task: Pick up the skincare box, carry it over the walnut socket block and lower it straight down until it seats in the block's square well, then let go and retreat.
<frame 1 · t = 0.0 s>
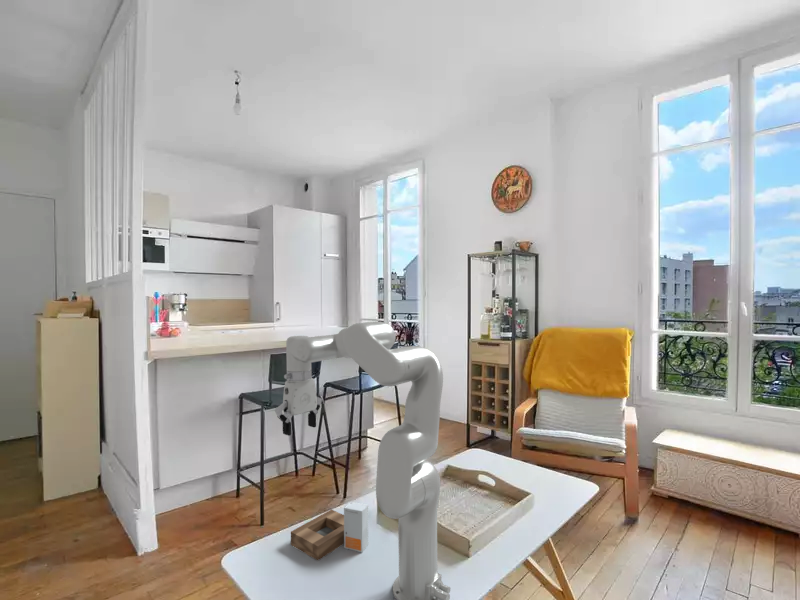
hand: (300, 430, 130), 31 cm above the table, fingers open, 9 cm apart
skincare box: (356, 547, 121), on the table
socket block: (325, 539, 125), on the table
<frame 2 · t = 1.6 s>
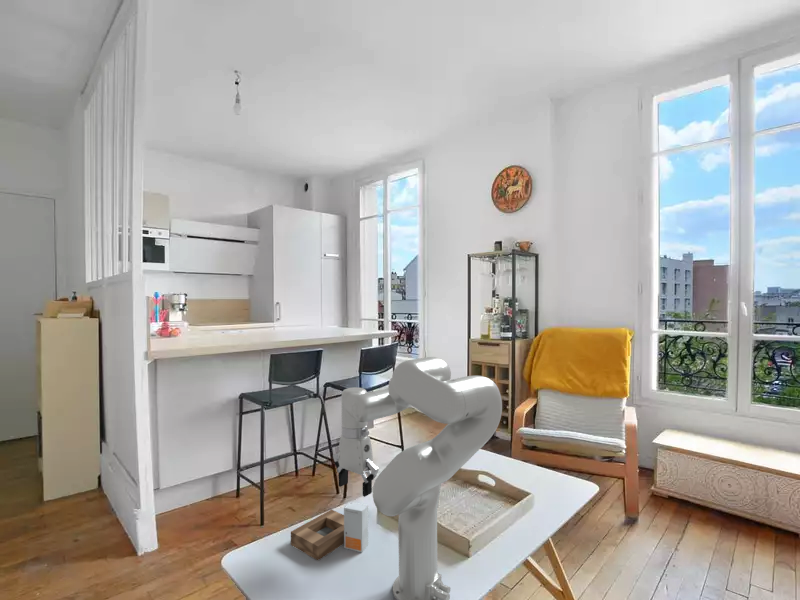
hand: (354, 489, 122), 17 cm above the table, fingers open, 9 cm apart
nothing on the table moved.
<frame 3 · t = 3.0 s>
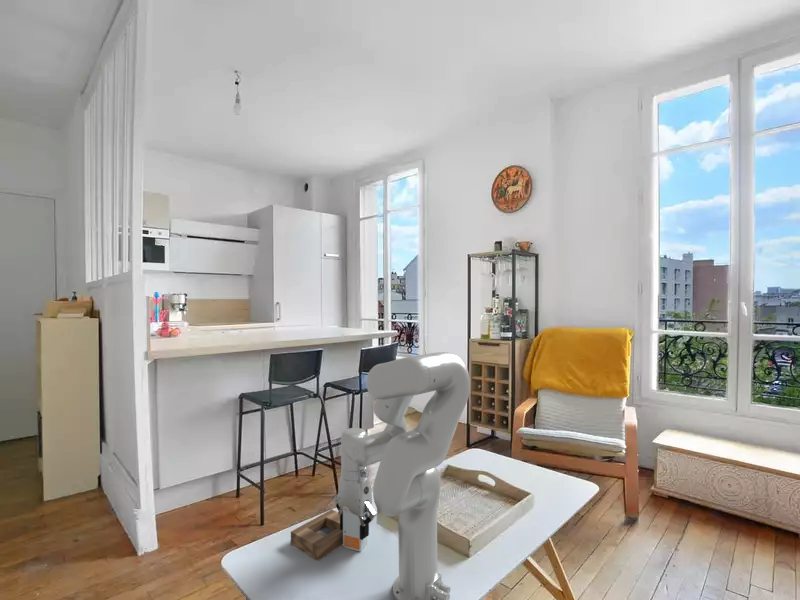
hand: (354, 531, 122), 4 cm above the table, fingers open, 7 cm apart
skincare box: (355, 546, 122), on the table, touching gripper, socket block
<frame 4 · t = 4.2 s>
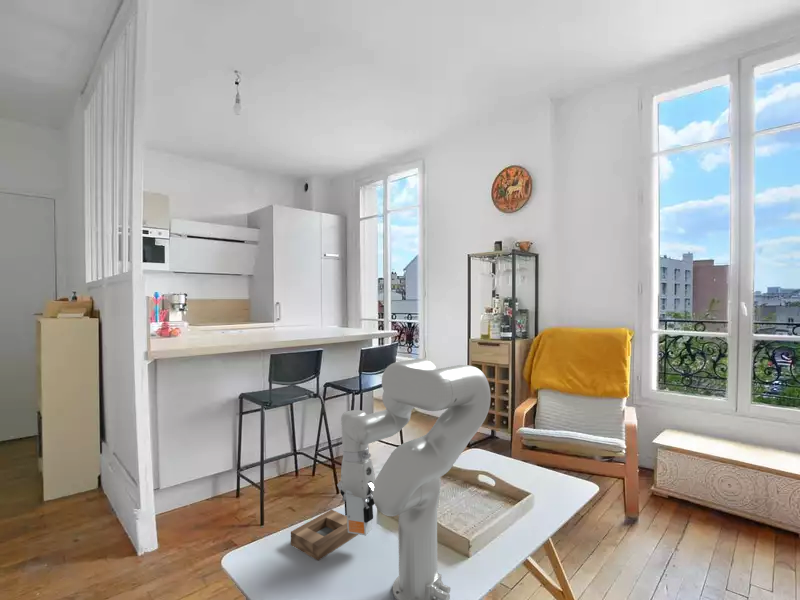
hand: (359, 516, 120), 9 cm above the table, fingers closed on skincare box, 6 cm apart
skincare box: (360, 532, 120), point 5 cm above the table, touching gripper
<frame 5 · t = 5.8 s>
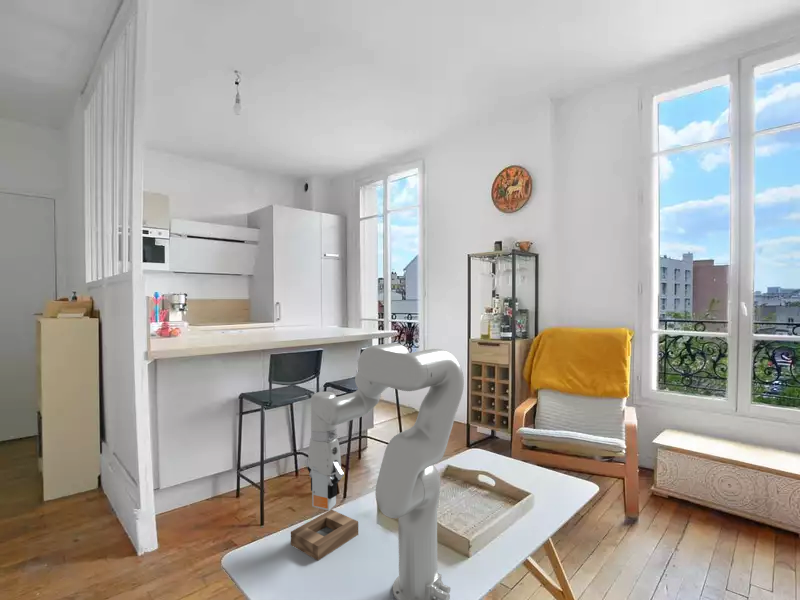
hand: (323, 492, 125), 14 cm above the table, fingers closed on skincare box, 6 cm apart
skincare box: (324, 506, 125), point 10 cm above the table, touching gripper
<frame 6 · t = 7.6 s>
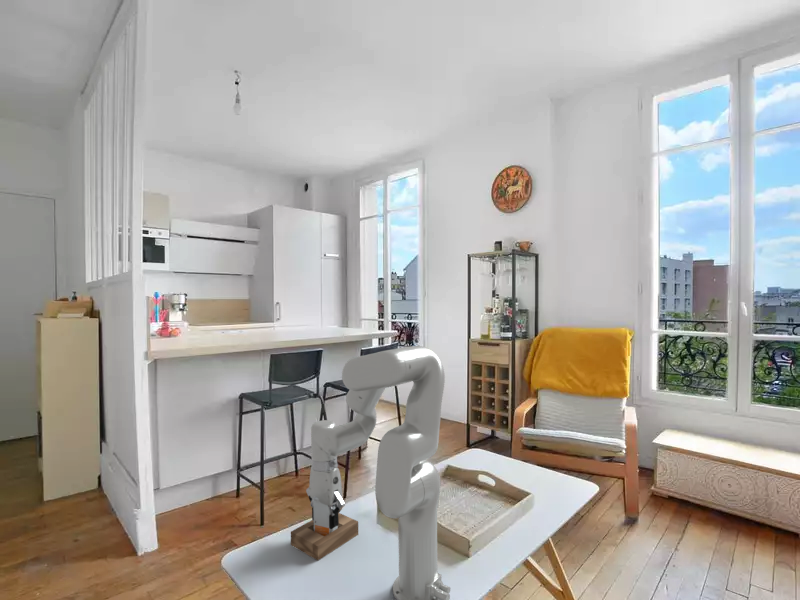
hand: (325, 522, 125), 5 cm above the table, fingers closed on skincare box, 6 cm apart
skincare box: (326, 536, 125), point 1 cm above the table, touching gripper, socket block
when the fingers open (5 cm above the table, at t = 7.6 s): skincare box stays where it is, resting on socket block.
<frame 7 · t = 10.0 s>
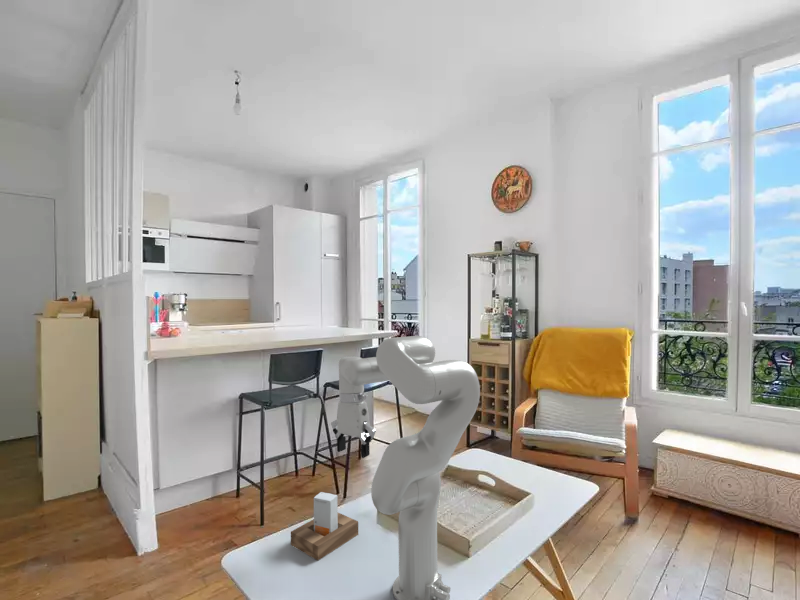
hand: (353, 453, 128), 25 cm above the table, fingers open, 9 cm apart
skincare box: (326, 536, 125), point 1 cm above the table, touching socket block
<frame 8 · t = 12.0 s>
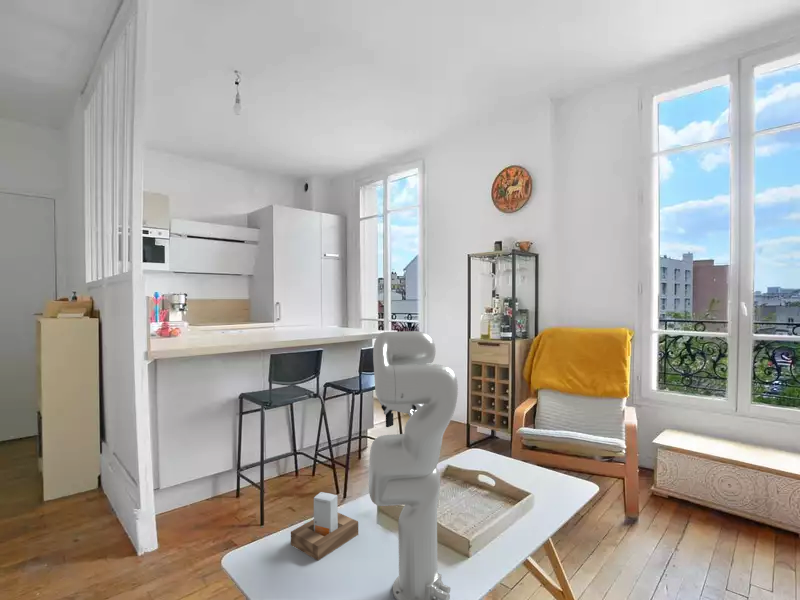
hand: (401, 428, 134), 30 cm above the table, fingers open, 9 cm apart
nothing on the table moved.
at the end: skincare box 0.2 cm off-centre on the socket block, point 1.0 cm above the socket block's base; skincare box tilted 0°; the gripper is holding nothing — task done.
